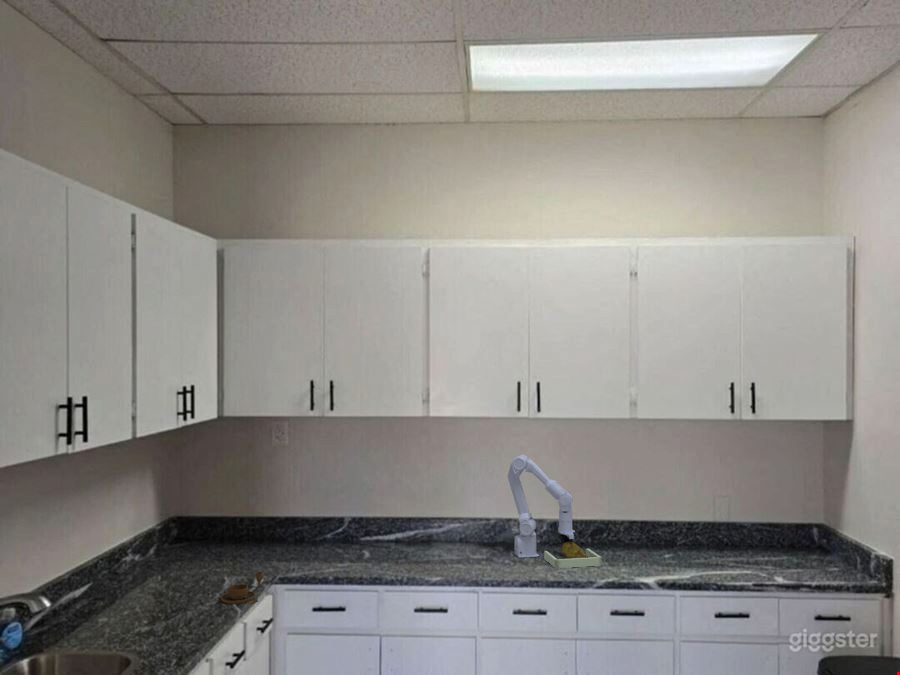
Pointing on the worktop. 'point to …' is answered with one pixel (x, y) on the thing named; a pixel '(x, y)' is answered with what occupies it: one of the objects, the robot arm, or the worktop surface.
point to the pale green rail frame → (574, 560)
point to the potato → (572, 551)
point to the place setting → (241, 592)
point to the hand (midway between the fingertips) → (566, 552)
